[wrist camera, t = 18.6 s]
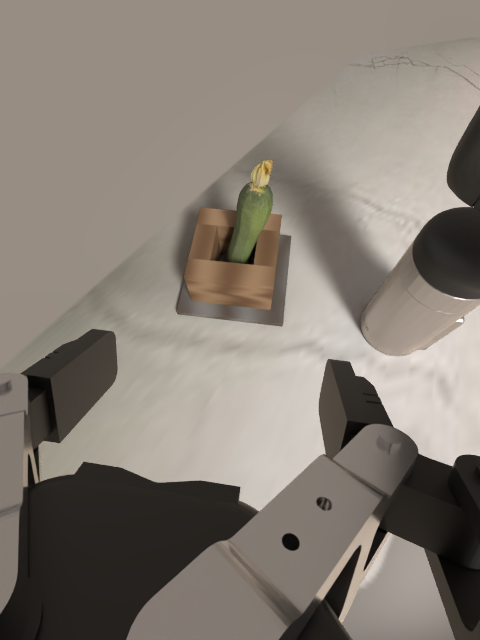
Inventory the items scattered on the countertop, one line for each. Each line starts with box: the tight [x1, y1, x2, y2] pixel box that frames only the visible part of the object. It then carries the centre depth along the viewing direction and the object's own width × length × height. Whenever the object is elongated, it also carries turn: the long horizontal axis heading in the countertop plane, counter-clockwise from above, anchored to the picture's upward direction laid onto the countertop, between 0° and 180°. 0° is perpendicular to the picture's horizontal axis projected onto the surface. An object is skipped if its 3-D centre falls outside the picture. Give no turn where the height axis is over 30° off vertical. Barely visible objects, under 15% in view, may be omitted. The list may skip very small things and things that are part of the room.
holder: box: [177, 208, 291, 326], centre depth 50 cm, size 16×16×8 cm
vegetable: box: [226, 159, 273, 264], centre depth 44 cm, size 4×4×20 cm
